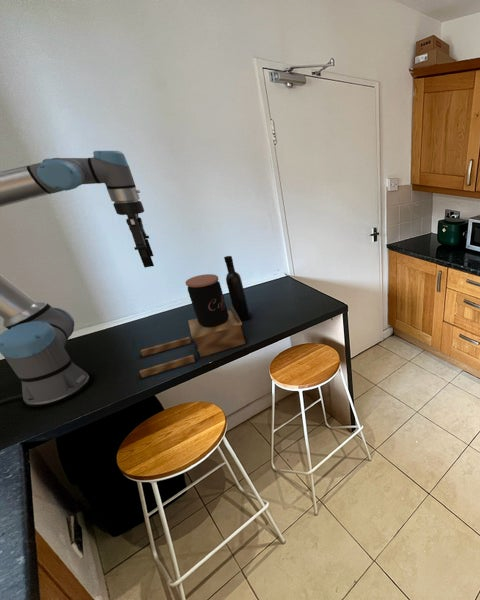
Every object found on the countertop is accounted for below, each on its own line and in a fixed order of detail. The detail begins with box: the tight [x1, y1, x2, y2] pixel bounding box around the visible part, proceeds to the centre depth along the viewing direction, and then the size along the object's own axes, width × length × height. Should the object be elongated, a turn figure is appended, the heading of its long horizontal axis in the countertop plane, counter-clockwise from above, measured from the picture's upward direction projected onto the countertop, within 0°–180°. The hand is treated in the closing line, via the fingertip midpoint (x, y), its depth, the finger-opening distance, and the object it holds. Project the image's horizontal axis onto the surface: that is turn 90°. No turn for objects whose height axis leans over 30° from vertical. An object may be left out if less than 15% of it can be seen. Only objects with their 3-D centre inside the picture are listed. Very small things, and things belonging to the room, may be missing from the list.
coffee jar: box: [185, 273, 229, 327], centre depth 120 cm, size 11×11×18 cm
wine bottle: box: [223, 255, 251, 321], centre depth 140 cm, size 6×6×30 cm
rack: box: [139, 304, 246, 379], centre depth 121 cm, size 34×16×12 cm, turn 126°
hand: (149, 261), depth 114 cm, fingers open, 13 cm apart
